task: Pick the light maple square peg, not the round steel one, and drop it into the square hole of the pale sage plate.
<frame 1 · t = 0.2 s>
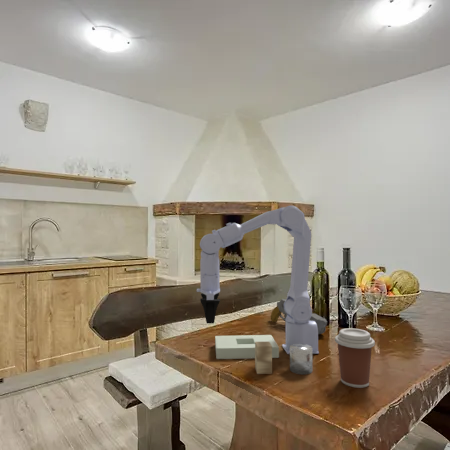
hand: (210, 319, 105), 10 cm above the table, fingers open, 7 cm apart
round peg: (301, 370, 93), on the table
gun: (296, 329, 132), on the table
socket plate: (245, 351, 107), on the table
coffee cup: (354, 382, 85), on the table
square peg: (263, 370, 92), on the table
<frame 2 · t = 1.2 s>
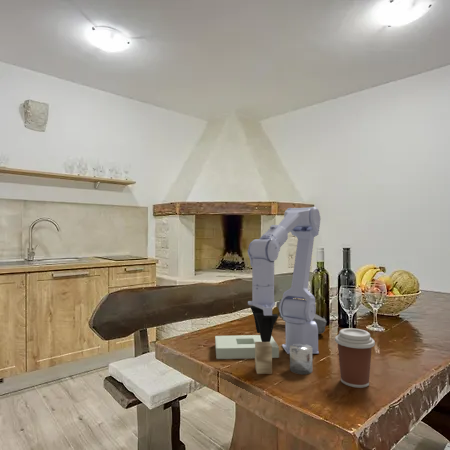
hand: (263, 336, 92), 9 cm above the table, fingers open, 7 cm apart
nothing on the table moved.
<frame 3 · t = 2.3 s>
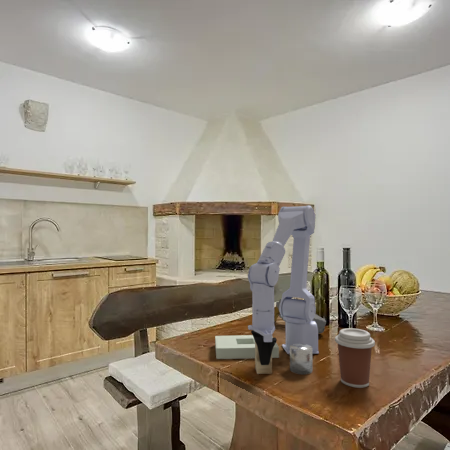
hand: (263, 361, 92), 2 cm above the table, fingers closed on square peg, 4 cm apart
square peg: (263, 370, 92), on the table, touching gripper
everything else where it was.
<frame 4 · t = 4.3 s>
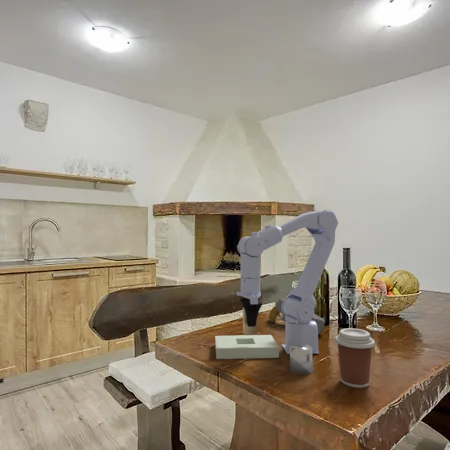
hand: (250, 324, 103), 9 cm above the table, fingers closed on square peg, 4 cm apart
square peg: (250, 332, 102), point 7 cm above the table, touching gripper
everything else where it was.
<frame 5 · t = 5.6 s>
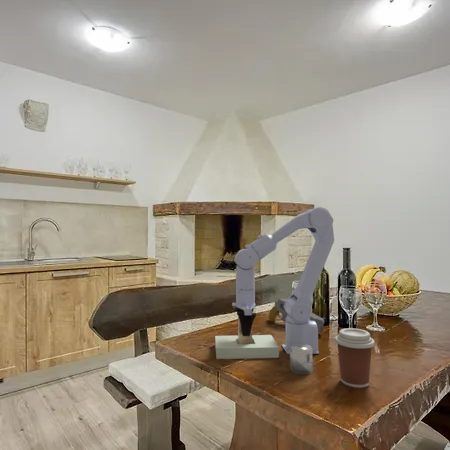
hand: (245, 333, 107), 5 cm above the table, fingers closed on square peg, 4 cm apart
square peg: (244, 341, 107), point 3 cm above the table, touching gripper
when the fingers open (4 cm above the table, at t = 6.4 s): square peg drops 1 cm, resting in socket plate.
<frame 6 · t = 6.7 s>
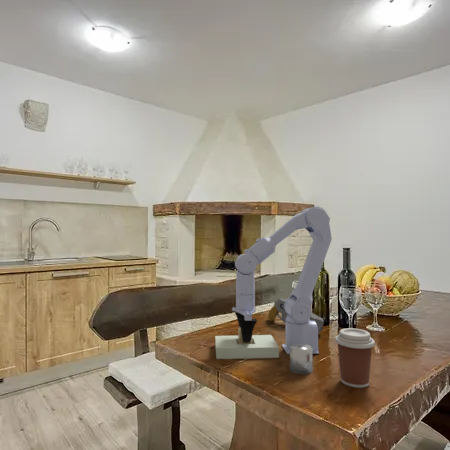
hand: (245, 338, 107), 4 cm above the table, fingers open, 6 cm apart
square peg: (245, 351, 107), resting in socket plate
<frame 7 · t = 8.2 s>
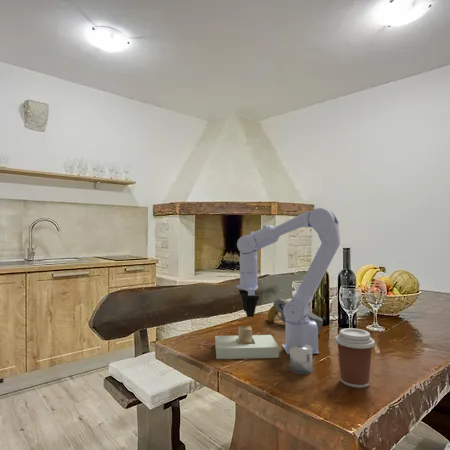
hand: (248, 313, 115), 9 cm above the table, fingers open, 7 cm apart
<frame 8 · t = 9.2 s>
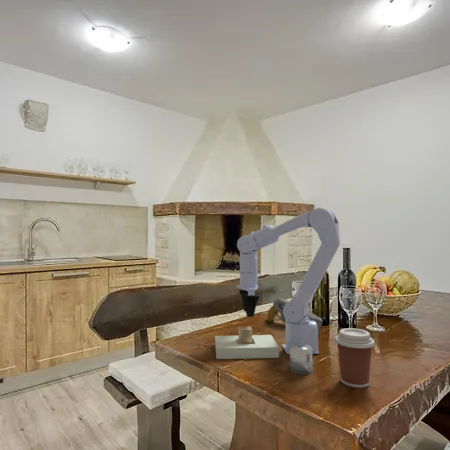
hand: (248, 313, 115), 9 cm above the table, fingers open, 7 cm apart
at the end: square peg 0.1 cm off-centre on the socket plate, point 0.0 cm above the socket plate's base; square peg tilted 0°; round peg moved 0.1 cm from its start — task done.
